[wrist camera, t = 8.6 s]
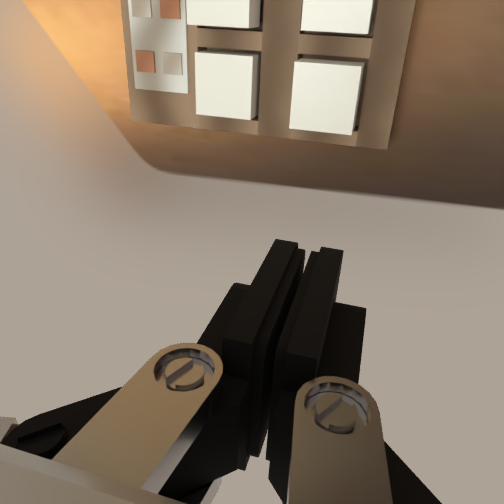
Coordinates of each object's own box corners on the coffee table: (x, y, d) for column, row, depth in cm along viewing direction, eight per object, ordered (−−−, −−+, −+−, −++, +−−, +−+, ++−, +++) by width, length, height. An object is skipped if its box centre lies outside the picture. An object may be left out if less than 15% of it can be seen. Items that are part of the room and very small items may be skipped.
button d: (262, 53, 35) (252, 56, 32) (259, 113, 37) (250, 120, 35) (208, 49, 36) (194, 52, 34) (208, 107, 38) (196, 114, 36)
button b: (364, 62, 32) (361, 66, 30) (354, 126, 34) (351, 135, 32) (301, 58, 33) (294, 61, 31) (296, 120, 35) (289, 128, 33)
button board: (427, -66, 30) (430, -75, 27) (387, 140, 37) (386, 151, 34) (134, -68, 35) (110, -76, 32) (147, 114, 42) (128, 121, 39)
